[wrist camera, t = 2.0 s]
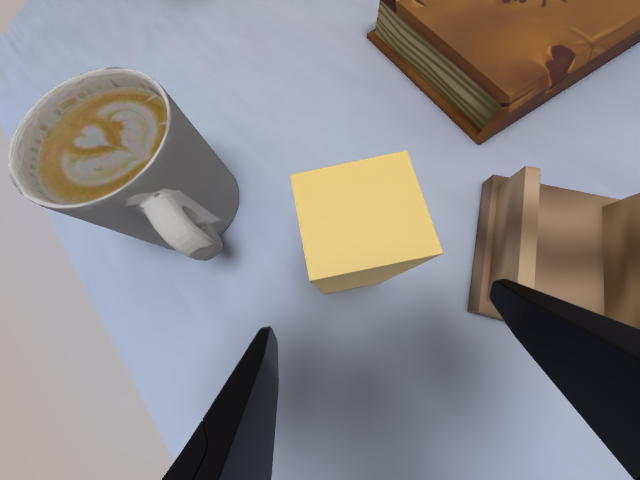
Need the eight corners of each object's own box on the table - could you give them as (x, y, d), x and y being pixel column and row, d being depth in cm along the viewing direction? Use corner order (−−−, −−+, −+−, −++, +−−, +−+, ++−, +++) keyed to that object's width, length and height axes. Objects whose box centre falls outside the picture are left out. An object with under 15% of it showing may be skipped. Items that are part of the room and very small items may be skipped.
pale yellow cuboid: (381, 282, 20) (443, 253, 8) (324, 294, 20) (309, 281, 9) (368, 233, 21) (406, 150, 10) (314, 245, 21) (290, 174, 10)
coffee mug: (131, 187, 24) (-3, 110, 15) (217, 144, 25) (144, 44, 15) (171, 303, 21) (28, 302, 11) (270, 249, 21) (217, 205, 12)
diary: (474, 150, 24) (516, 103, 18) (366, 43, 28) (372, -19, 23) (638, 44, 25) (722, -29, 20) (510, -39, 30) (549, -116, 25)
